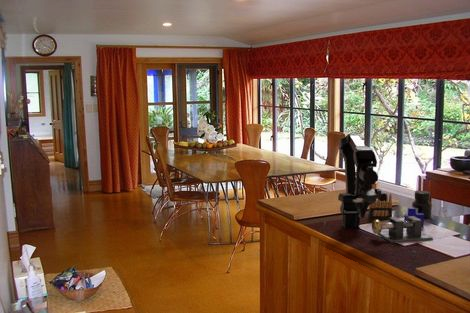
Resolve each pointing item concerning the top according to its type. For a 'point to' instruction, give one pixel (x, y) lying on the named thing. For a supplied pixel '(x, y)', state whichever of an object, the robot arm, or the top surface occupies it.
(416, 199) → the ink bottle
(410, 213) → the cable clip
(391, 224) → the shaft
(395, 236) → the housing
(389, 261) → the top surface
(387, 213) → the ammunition clip
